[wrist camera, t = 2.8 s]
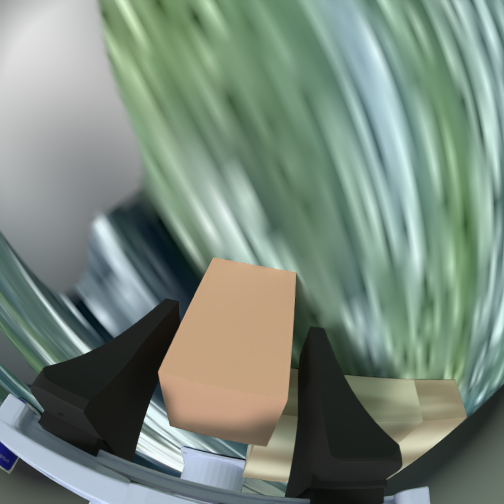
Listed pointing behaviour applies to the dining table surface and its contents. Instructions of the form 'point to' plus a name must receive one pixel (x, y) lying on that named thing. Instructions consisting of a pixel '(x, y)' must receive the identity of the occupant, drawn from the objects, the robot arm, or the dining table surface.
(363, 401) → the socket block
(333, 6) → the dining table surface
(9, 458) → the beverage can
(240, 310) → the peg
